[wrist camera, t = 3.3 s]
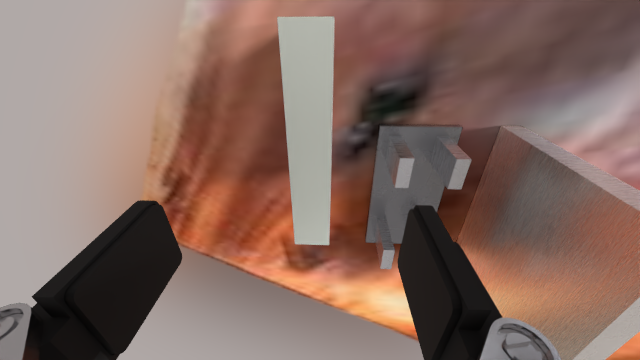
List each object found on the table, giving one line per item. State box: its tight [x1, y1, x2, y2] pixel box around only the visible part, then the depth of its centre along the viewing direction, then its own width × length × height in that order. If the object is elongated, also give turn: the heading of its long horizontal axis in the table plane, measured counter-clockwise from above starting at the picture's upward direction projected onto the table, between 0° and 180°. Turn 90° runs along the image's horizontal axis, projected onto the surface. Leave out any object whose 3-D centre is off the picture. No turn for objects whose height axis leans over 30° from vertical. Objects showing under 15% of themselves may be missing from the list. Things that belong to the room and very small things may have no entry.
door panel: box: [277, 17, 335, 245], centre depth 20 cm, size 14×2×12 cm, turn 0°
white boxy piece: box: [365, 124, 640, 360], centre depth 23 cm, size 16×14×16 cm
